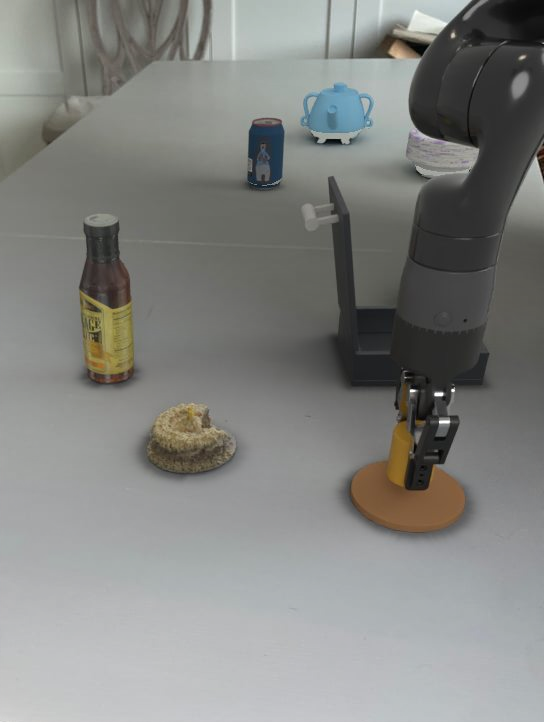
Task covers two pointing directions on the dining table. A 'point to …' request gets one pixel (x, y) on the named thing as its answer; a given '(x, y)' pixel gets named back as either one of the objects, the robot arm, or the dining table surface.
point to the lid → (338, 253)
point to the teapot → (337, 110)
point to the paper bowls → (439, 154)
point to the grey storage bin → (386, 351)
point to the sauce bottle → (106, 303)
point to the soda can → (265, 153)
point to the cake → (188, 440)
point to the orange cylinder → (400, 454)
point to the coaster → (407, 500)
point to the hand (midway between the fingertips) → (410, 472)
